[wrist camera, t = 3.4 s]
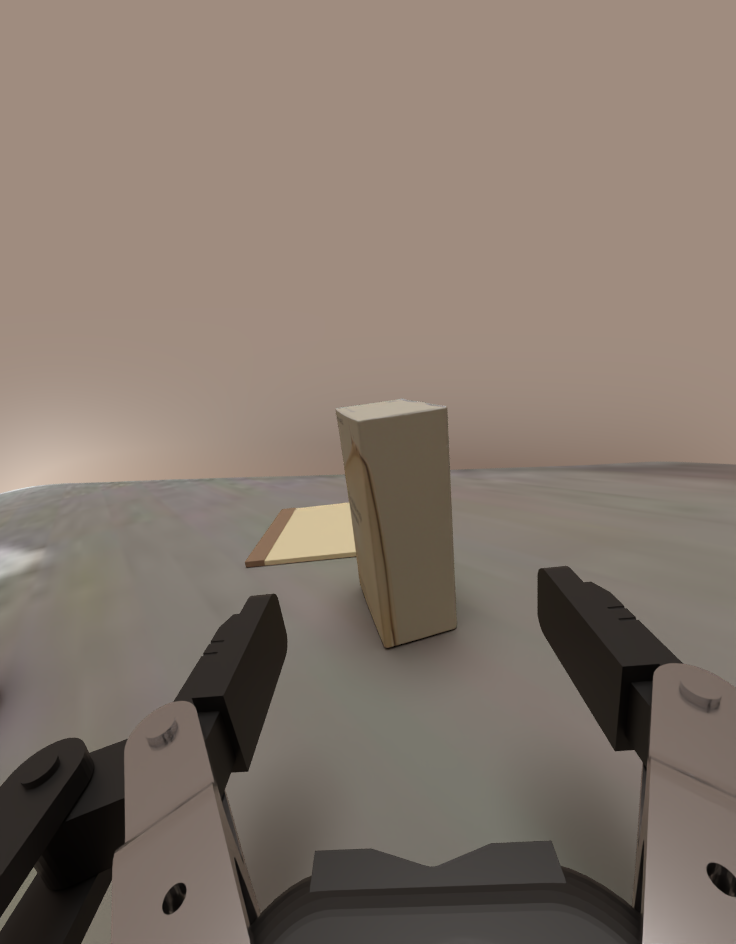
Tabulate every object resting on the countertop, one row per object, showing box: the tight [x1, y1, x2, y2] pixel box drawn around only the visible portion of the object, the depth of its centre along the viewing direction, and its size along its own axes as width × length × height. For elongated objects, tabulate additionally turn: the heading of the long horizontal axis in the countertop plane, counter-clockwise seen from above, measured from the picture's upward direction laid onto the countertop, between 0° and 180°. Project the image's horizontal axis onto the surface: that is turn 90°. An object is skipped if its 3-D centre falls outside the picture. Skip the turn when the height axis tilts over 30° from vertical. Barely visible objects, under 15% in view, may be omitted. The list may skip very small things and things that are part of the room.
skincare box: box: [336, 399, 457, 648], centre depth 20 cm, size 6×4×12 cm
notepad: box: [245, 503, 356, 567], centre depth 33 cm, size 14×11×1 cm
